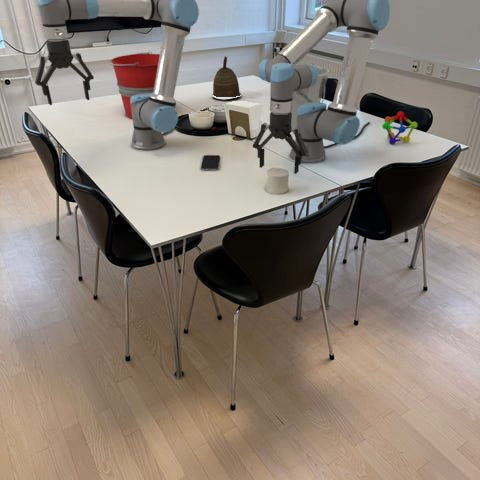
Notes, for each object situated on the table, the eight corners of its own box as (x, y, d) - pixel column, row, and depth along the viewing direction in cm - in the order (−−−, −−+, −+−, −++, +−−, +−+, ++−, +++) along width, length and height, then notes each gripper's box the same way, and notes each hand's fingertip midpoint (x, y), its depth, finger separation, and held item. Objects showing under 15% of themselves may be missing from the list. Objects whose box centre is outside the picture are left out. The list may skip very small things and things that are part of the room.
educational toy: (377, 146, 209) (379, 114, 202) (384, 138, 219) (386, 107, 211) (411, 149, 202) (415, 116, 195) (417, 141, 212) (420, 109, 204)
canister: (291, 192, 164) (292, 175, 161) (270, 195, 163) (270, 177, 159) (283, 183, 171) (284, 166, 168) (263, 185, 169) (263, 168, 166)
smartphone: (200, 168, 181) (203, 155, 194) (200, 170, 182) (203, 156, 194) (218, 168, 181) (220, 155, 194) (218, 170, 182) (220, 156, 194)
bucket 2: (296, 138, 215) (301, 78, 201) (255, 124, 234) (256, 68, 219) (335, 125, 232) (342, 70, 217) (294, 113, 251) (297, 61, 236)
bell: (227, 105, 294) (202, 96, 282) (238, 66, 289) (213, 55, 277) (243, 108, 280) (217, 98, 268) (255, 66, 275) (229, 55, 263)
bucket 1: (125, 104, 265) (117, 50, 249) (183, 105, 264) (179, 51, 248) (108, 122, 236) (99, 62, 220) (174, 123, 235) (169, 63, 219)
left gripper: (20, 43, 145) (36, 108, 156) (96, 38, 156) (105, 99, 168) (16, 40, 150) (31, 104, 162) (90, 35, 162) (99, 95, 173)
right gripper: (243, 110, 153) (243, 167, 165) (312, 119, 144) (307, 179, 156) (252, 105, 159) (252, 160, 170) (319, 113, 150) (314, 171, 161)
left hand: (69, 101), depth 165 cm, fingers open, 13 cm apart
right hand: (278, 169), depth 163 cm, fingers open, 13 cm apart
